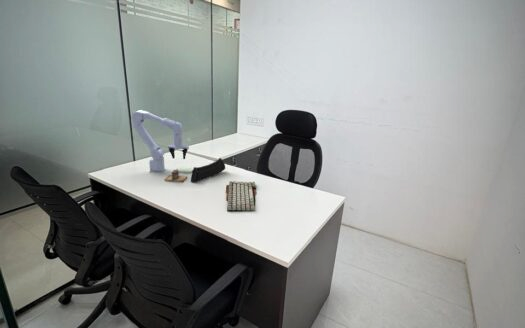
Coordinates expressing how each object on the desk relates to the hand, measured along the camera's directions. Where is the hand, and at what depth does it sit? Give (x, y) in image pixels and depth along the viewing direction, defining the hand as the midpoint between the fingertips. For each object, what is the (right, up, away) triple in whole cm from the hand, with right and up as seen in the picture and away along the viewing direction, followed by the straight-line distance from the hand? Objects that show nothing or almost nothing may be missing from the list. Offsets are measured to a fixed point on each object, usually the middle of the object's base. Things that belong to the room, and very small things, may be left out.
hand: (178, 158), depth 187 cm
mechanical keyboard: (+48, -24, -32) cm, 62 cm away
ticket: (+4, -9, +2) cm, 10 cm away
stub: (+3, -14, -14) cm, 20 cm away
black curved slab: (+23, -13, -6) cm, 27 cm away
